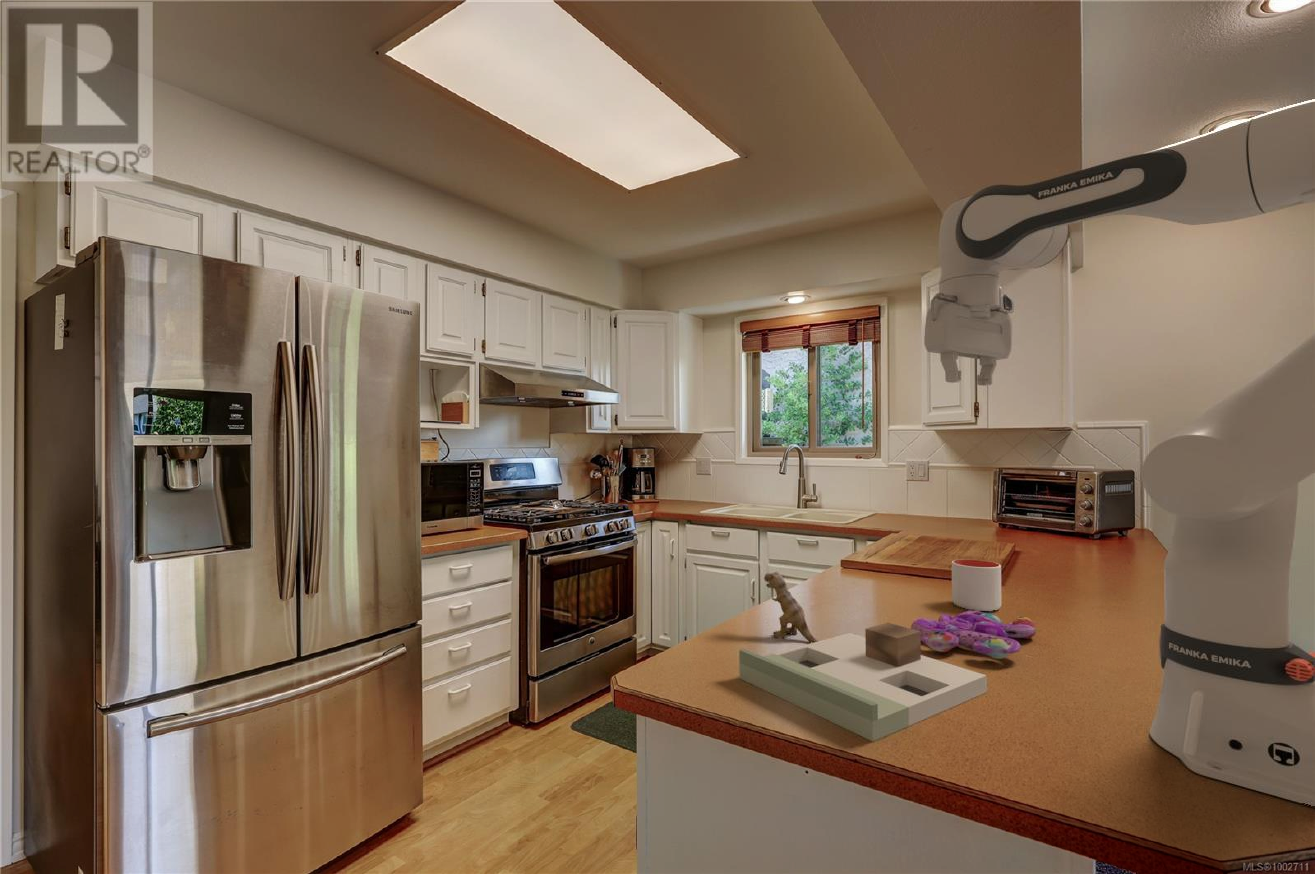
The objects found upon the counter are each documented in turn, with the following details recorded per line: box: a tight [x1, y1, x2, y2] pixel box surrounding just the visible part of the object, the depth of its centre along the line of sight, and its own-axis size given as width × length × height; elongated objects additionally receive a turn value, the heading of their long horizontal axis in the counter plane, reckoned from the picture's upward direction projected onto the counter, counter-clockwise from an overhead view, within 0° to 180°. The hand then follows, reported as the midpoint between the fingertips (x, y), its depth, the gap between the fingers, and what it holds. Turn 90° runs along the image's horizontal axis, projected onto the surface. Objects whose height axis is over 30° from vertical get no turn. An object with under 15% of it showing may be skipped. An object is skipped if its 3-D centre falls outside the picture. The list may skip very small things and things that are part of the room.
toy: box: [763, 571, 819, 643], centre depth 118 cm, size 7×17×10 cm
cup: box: [951, 558, 1002, 612], centre depth 139 cm, size 10×10×10 cm
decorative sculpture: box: [910, 610, 1037, 660], centre depth 114 cm, size 29×5×20 cm
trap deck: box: [738, 632, 988, 742], centre depth 94 cm, size 25×27×4 cm
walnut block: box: [864, 622, 922, 667], centre depth 99 cm, size 6×6×4 cm
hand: (969, 383), depth 99 cm, fingers open, 8 cm apart
